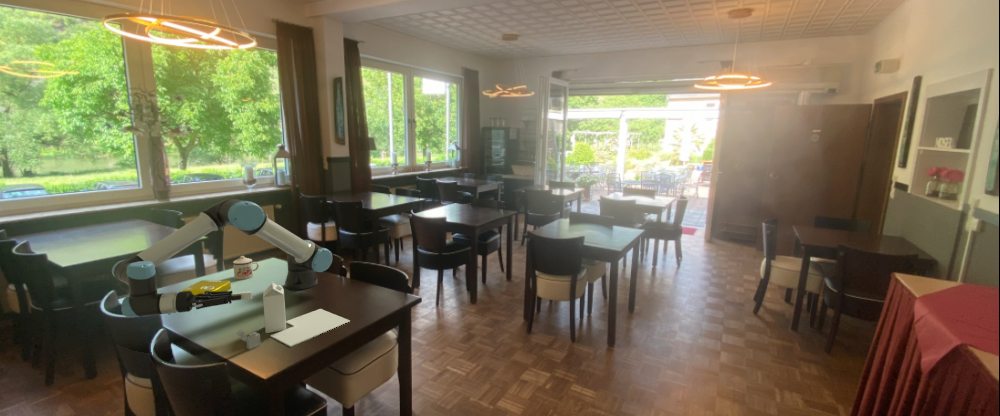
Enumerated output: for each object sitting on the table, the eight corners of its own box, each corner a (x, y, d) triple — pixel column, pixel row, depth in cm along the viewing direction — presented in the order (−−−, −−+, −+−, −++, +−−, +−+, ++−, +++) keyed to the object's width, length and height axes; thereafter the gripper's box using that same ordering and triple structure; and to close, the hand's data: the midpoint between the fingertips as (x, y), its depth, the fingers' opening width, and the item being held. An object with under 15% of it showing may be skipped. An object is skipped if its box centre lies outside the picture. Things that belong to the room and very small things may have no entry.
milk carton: (265, 333, 162) (262, 287, 158) (266, 326, 168) (262, 281, 165) (286, 330, 165) (282, 284, 162) (285, 323, 171) (282, 279, 168)
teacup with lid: (236, 281, 218) (234, 259, 216) (232, 276, 225) (230, 256, 223) (261, 276, 226) (260, 255, 225) (257, 272, 233) (255, 252, 231)
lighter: (258, 343, 154) (256, 323, 153) (260, 345, 153) (259, 324, 152) (238, 351, 148) (236, 330, 147) (240, 353, 147) (238, 332, 146)
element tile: (232, 288, 209) (231, 279, 208) (213, 300, 194) (212, 290, 193) (202, 288, 208) (201, 279, 207) (180, 299, 194) (179, 290, 193)
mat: (320, 309, 185) (320, 308, 185) (350, 321, 173) (350, 320, 173) (260, 331, 163) (260, 330, 163) (290, 347, 152) (290, 345, 152)
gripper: (184, 305, 159) (255, 298, 168) (172, 318, 147) (249, 310, 156) (182, 286, 158) (253, 280, 166) (170, 298, 146) (247, 291, 155)
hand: (251, 295), depth 161 cm, fingers closed
